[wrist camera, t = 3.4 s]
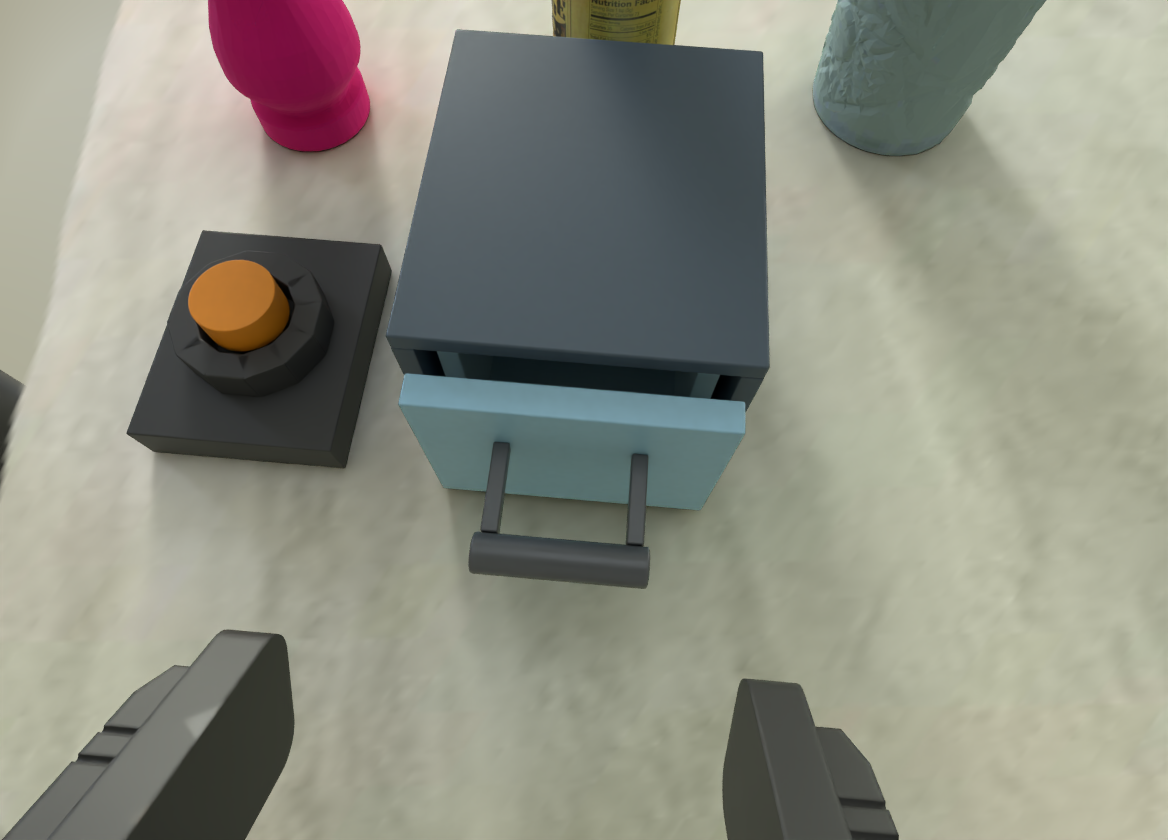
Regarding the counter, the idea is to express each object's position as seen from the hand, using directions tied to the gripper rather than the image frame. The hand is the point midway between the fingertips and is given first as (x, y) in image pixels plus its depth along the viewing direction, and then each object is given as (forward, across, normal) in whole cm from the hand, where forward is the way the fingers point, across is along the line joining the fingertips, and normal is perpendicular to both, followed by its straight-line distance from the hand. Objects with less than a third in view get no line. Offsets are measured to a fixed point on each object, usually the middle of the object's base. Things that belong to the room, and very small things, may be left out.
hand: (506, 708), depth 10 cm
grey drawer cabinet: (+27, 0, +1) cm, 27 cm away
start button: (+23, +15, +1) cm, 27 cm away
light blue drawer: (+23, 0, +4) cm, 24 cm away
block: (+25, +15, +4) cm, 30 cm away
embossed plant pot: (+39, -16, -10) cm, 44 cm away
